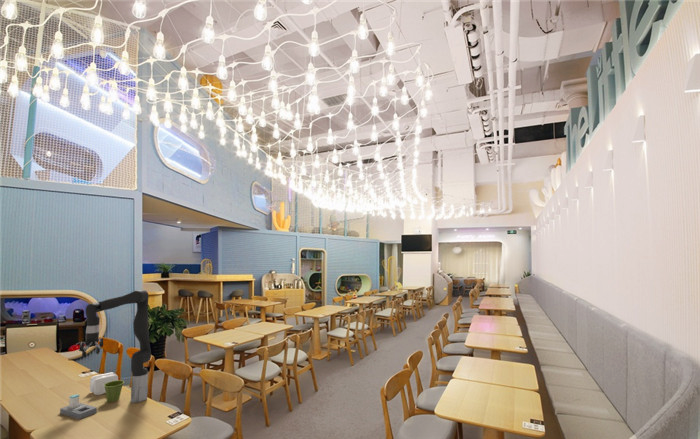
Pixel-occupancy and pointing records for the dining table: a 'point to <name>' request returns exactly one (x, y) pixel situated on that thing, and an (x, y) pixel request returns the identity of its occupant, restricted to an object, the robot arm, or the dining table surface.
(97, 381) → the cable organizer
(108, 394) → the plant pot
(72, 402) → the plug peg
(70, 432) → the dining table surface
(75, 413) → the socket board
